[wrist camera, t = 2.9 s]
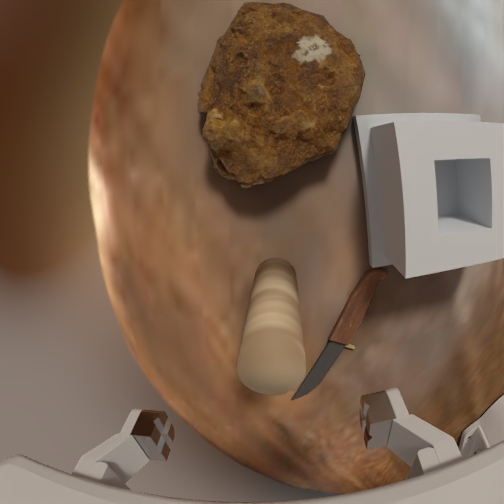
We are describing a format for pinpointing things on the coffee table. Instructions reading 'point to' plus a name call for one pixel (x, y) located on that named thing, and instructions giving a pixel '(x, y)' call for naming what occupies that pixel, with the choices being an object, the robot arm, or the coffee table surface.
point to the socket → (432, 190)
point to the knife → (343, 329)
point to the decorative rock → (277, 92)
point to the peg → (273, 332)
